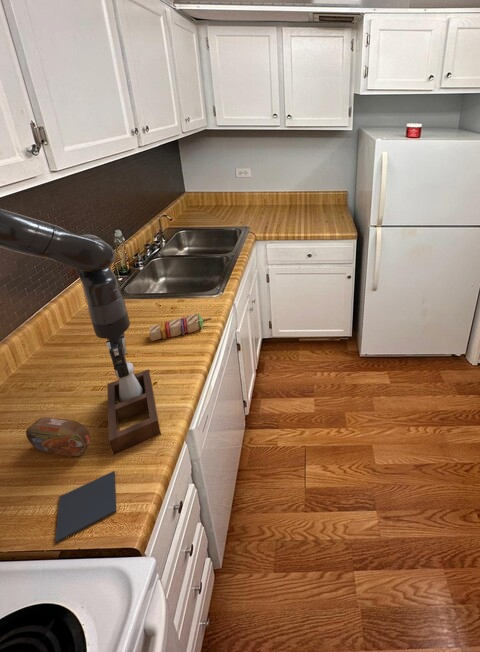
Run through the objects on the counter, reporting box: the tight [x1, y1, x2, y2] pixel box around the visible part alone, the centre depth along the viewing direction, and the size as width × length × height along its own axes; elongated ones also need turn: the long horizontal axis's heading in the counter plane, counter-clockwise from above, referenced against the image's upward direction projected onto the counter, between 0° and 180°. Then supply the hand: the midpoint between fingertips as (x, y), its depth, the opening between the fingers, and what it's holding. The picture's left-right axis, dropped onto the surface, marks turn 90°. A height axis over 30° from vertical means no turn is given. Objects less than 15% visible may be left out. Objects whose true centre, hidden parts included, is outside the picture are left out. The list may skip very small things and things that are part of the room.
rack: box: [106, 369, 162, 456], centre depth 87 cm, size 10×19×5 cm, turn 31°
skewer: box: [148, 313, 212, 342], centre depth 119 cm, size 21×6×5 cm, turn 115°
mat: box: [54, 470, 117, 544], centre depth 68 cm, size 10×9×1 cm
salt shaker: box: [114, 361, 144, 403], centre depth 89 cm, size 6×6×13 cm
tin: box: [25, 416, 92, 457], centre depth 78 cm, size 15×3×8 cm, turn 82°
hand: (123, 365), depth 87 cm, fingers open, 8 cm apart
